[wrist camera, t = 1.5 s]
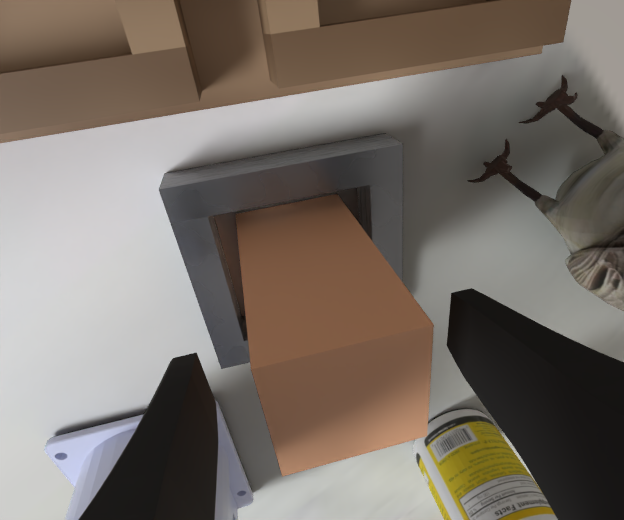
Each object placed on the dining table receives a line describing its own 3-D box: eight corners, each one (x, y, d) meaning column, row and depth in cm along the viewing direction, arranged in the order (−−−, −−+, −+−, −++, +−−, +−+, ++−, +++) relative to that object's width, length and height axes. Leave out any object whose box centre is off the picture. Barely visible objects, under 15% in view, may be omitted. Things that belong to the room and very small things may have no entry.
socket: (388, 303, 19) (402, 325, 17) (221, 343, 18) (221, 368, 16) (385, 133, 14) (403, 143, 13) (164, 173, 13) (158, 189, 12)
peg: (344, 277, 17) (427, 436, 11) (255, 297, 17) (282, 476, 10) (337, 193, 15) (433, 324, 8) (235, 213, 15) (251, 369, 8)
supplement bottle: (463, 460, 27) (570, 646, 19) (397, 460, 26) (483, 665, 17) (503, 407, 25) (644, 592, 17) (434, 403, 23) (553, 607, 15)
